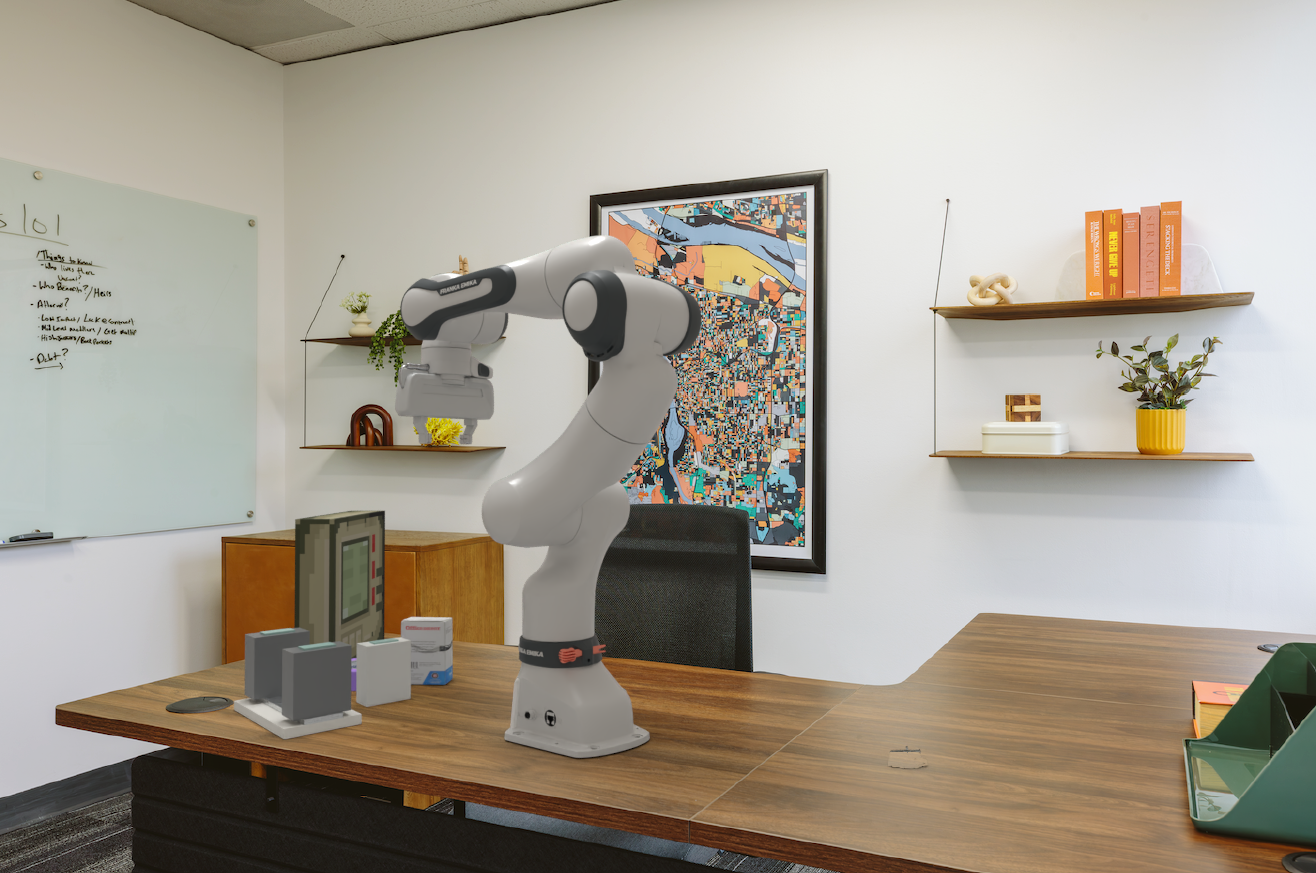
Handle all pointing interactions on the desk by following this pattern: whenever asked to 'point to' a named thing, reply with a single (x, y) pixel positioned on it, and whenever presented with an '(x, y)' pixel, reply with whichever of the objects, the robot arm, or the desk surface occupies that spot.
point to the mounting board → (287, 727)
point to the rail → (277, 705)
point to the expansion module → (383, 671)
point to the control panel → (340, 577)
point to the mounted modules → (298, 672)
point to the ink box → (430, 649)
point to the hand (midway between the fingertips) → (446, 444)
